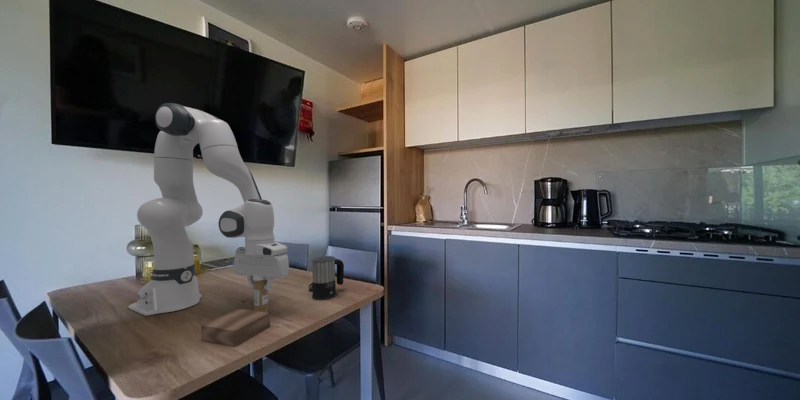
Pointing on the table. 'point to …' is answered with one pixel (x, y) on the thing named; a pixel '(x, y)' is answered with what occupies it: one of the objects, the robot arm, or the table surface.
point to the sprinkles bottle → (260, 294)
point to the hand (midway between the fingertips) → (260, 289)
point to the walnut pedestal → (235, 327)
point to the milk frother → (325, 277)
